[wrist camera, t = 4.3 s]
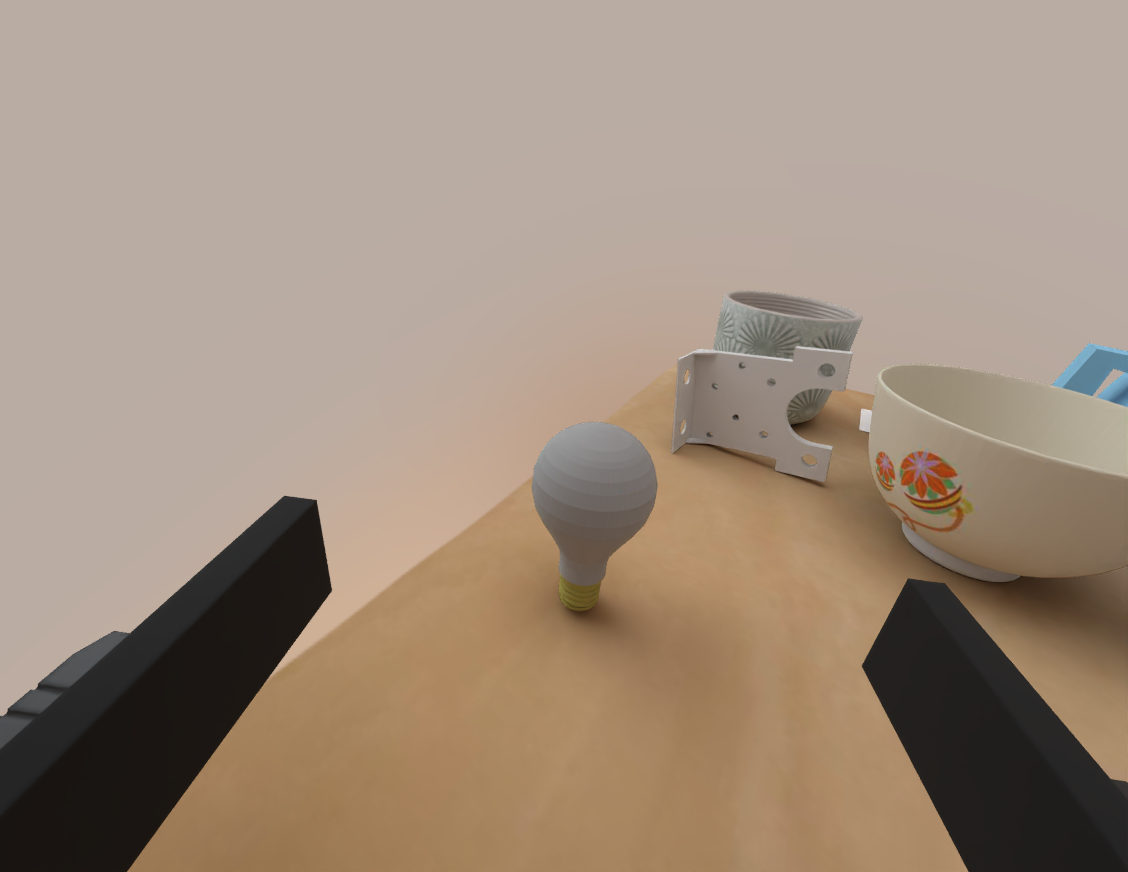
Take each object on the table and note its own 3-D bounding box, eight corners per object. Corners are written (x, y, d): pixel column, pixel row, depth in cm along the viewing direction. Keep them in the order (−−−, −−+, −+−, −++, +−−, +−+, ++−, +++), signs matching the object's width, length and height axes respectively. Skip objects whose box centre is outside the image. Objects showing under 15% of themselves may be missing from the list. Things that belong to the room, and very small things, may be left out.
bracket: (670, 464, 41) (679, 345, 37) (690, 446, 44) (700, 336, 40) (815, 501, 35) (843, 364, 31) (826, 478, 38) (853, 351, 34)
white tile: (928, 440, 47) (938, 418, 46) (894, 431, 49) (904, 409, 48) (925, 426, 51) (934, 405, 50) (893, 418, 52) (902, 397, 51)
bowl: (794, 471, 40) (837, 352, 35) (997, 497, 39) (1068, 379, 34) (894, 627, 25) (987, 460, 21) (1218, 673, 25) (1388, 511, 20)
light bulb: (510, 635, 23) (522, 447, 18) (536, 558, 27) (550, 395, 23) (627, 660, 22) (669, 472, 17) (632, 577, 27) (666, 412, 22)
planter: (838, 445, 45) (885, 328, 40) (702, 422, 47) (730, 307, 42) (806, 397, 56) (839, 300, 51) (697, 380, 57) (719, 285, 53)
